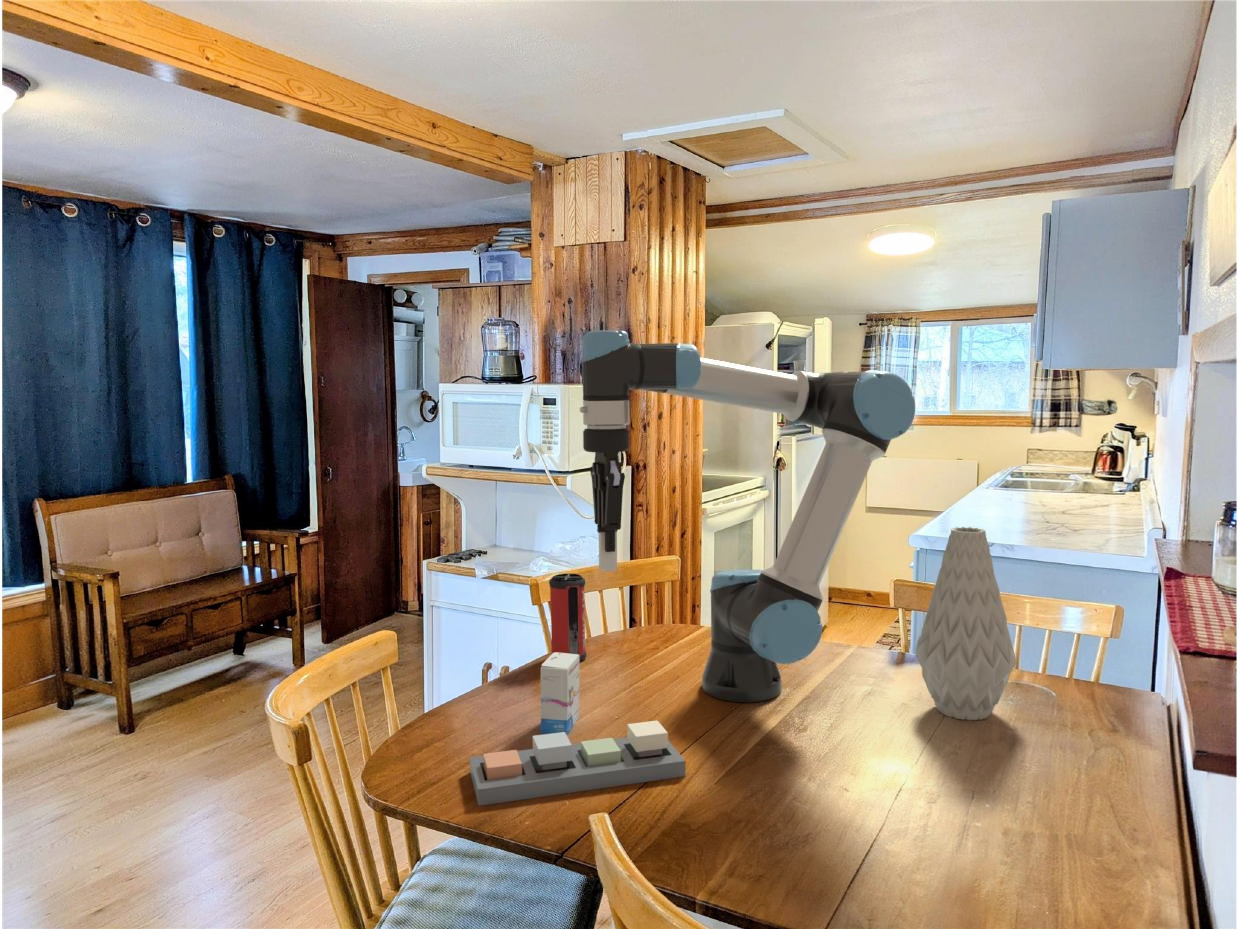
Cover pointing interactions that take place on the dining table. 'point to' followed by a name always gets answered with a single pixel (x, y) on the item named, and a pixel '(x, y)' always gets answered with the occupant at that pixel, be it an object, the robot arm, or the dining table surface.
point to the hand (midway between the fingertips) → (608, 569)
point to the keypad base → (574, 774)
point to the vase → (966, 631)
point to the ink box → (559, 693)
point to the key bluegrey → (552, 750)
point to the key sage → (600, 752)
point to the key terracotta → (502, 764)
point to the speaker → (568, 614)
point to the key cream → (647, 738)
